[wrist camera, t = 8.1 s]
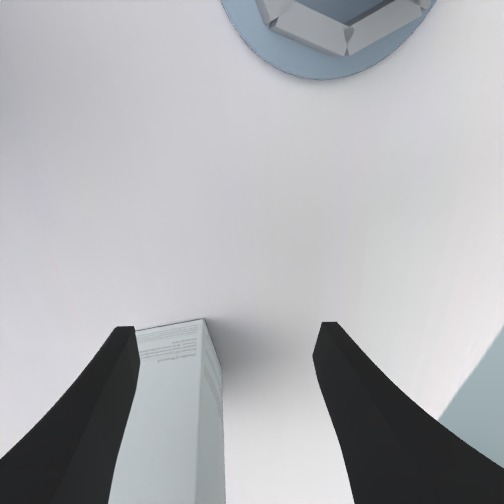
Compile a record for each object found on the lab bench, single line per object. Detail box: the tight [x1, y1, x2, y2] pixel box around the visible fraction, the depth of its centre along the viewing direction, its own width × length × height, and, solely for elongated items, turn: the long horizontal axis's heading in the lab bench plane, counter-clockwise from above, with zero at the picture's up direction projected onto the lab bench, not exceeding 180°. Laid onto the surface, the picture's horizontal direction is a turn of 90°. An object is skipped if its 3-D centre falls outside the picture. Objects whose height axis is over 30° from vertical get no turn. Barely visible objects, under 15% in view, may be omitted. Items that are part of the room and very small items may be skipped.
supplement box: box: [108, 319, 226, 504], centre depth 21 cm, size 7×7×13 cm
